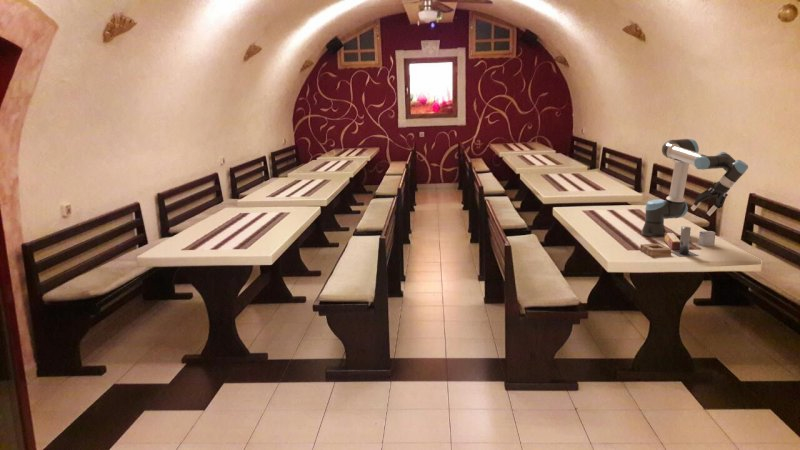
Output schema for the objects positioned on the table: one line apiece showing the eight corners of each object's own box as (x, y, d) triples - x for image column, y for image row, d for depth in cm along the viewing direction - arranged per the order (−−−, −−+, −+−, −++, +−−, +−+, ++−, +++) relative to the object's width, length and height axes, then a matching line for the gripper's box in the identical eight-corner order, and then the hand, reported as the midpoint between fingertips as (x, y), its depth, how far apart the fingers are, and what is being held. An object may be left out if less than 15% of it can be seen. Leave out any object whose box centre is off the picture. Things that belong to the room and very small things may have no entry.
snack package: (682, 251, 351) (683, 240, 349) (670, 251, 352) (671, 240, 351) (674, 242, 371) (675, 232, 369) (663, 242, 372) (664, 232, 371)
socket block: (640, 250, 354) (640, 244, 354) (659, 249, 355) (659, 243, 354) (651, 256, 341) (651, 250, 340) (670, 255, 341) (671, 249, 341)
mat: (668, 252, 349) (668, 251, 349) (688, 251, 350) (688, 250, 350) (679, 257, 338) (679, 256, 338) (699, 256, 338) (699, 255, 338)
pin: (677, 252, 346) (679, 226, 342) (685, 252, 346) (687, 226, 343) (682, 255, 341) (684, 228, 338) (690, 254, 341) (692, 228, 338)
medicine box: (710, 244, 364) (711, 230, 362) (714, 246, 360) (715, 232, 358) (698, 244, 364) (699, 231, 362) (702, 246, 359) (703, 233, 357)
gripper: (713, 182, 328) (688, 211, 339) (743, 193, 337) (718, 220, 349) (705, 175, 334) (681, 203, 345) (735, 185, 343) (711, 212, 354)
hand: (700, 212), depth 347 cm, fingers open, 13 cm apart
